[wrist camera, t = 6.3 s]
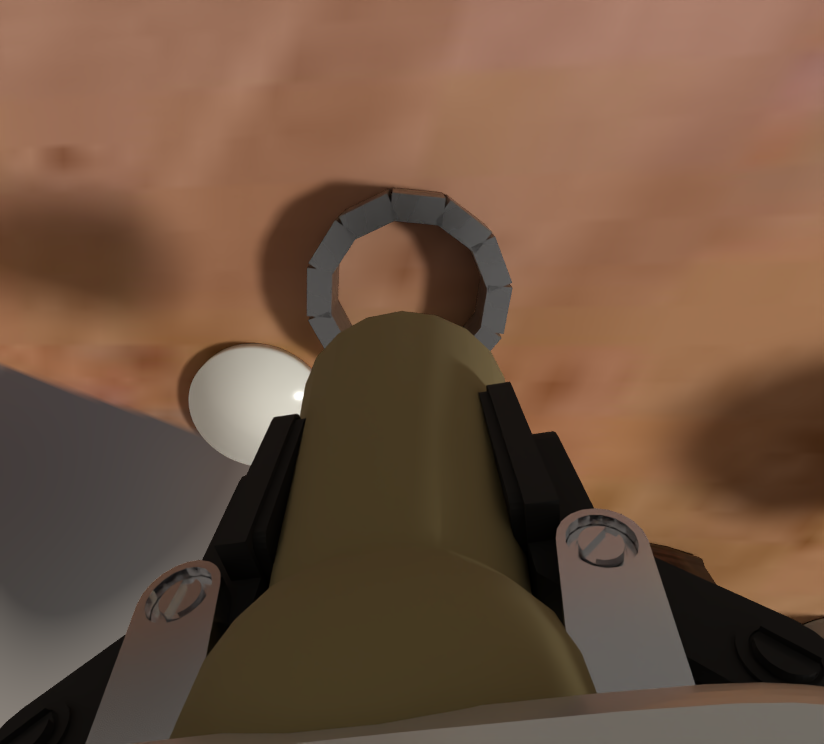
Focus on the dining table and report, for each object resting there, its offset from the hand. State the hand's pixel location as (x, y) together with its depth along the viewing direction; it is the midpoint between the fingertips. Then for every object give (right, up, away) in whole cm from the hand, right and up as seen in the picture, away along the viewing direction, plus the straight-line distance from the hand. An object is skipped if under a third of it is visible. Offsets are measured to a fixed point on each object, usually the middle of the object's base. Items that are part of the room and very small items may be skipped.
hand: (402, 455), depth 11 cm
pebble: (-9, 0, +17) cm, 20 cm away
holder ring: (0, +6, +14) cm, 16 cm away
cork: (0, +1, +3) cm, 3 cm away
